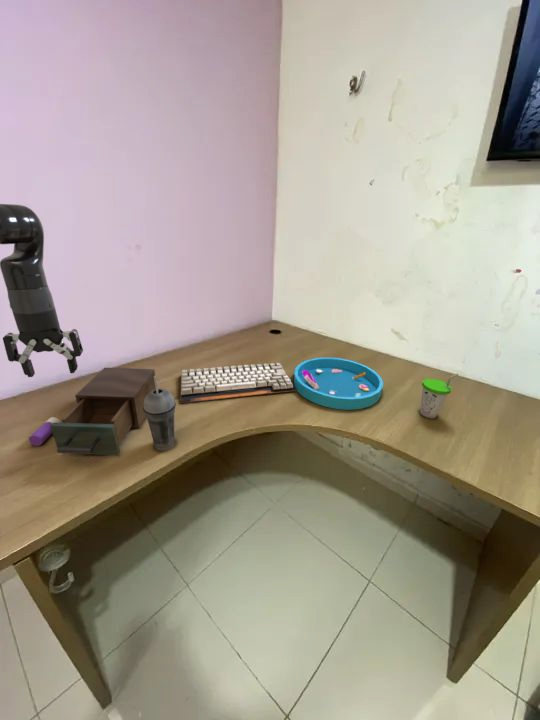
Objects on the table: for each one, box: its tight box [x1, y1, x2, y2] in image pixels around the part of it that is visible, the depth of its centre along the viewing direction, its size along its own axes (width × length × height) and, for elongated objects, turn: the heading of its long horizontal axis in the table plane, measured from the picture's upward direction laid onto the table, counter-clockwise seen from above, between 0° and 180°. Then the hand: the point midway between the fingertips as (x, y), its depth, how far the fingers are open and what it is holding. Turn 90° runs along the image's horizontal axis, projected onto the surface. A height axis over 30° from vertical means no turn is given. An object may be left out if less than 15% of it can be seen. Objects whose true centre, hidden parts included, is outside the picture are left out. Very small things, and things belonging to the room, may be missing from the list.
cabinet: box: [74, 367, 156, 429], centre depth 88 cm, size 16×15×10 cm
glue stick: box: [28, 416, 62, 447], centre depth 78 cm, size 8×3×3 cm, turn 1°
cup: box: [419, 373, 459, 419], centre depth 91 cm, size 8×8×15 cm
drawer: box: [50, 398, 135, 456], centre depth 75 cm, size 19×14×8 cm
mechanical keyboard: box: [179, 362, 296, 405], centre depth 106 cm, size 38×19×3 cm, turn 105°
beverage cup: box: [143, 375, 177, 452], centre depth 73 cm, size 7×7×20 cm
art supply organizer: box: [293, 357, 384, 411], centre depth 107 cm, size 30×30×6 cm
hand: (52, 373), depth 74 cm, fingers open, 8 cm apart
